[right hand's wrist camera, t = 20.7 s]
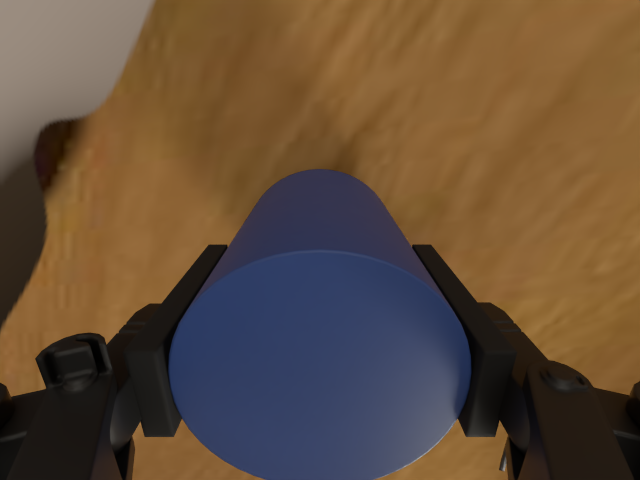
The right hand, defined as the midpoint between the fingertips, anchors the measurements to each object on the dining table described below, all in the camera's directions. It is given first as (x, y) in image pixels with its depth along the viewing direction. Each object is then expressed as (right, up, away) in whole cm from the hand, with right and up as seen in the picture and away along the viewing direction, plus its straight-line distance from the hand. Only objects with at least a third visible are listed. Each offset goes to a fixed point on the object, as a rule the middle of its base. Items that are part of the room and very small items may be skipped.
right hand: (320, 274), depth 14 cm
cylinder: (0, +1, +3) cm, 4 cm away
